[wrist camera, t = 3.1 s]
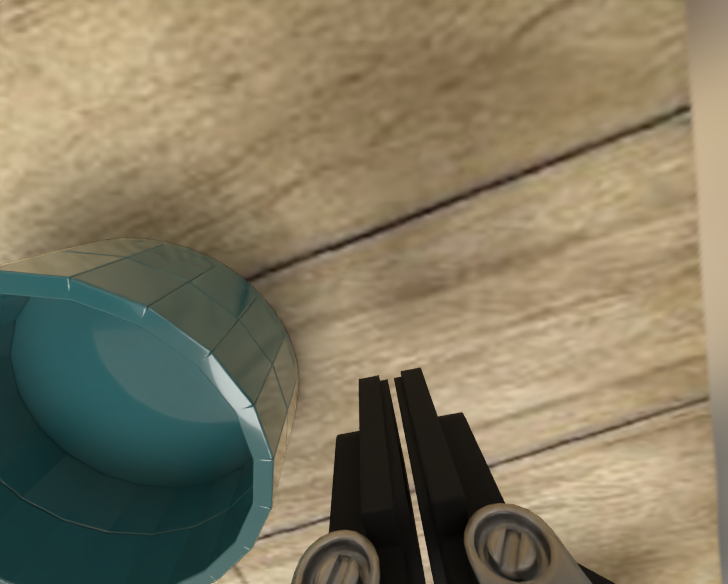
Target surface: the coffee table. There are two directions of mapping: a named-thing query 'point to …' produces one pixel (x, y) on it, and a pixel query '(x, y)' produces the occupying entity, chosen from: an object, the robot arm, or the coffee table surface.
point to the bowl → (137, 415)
